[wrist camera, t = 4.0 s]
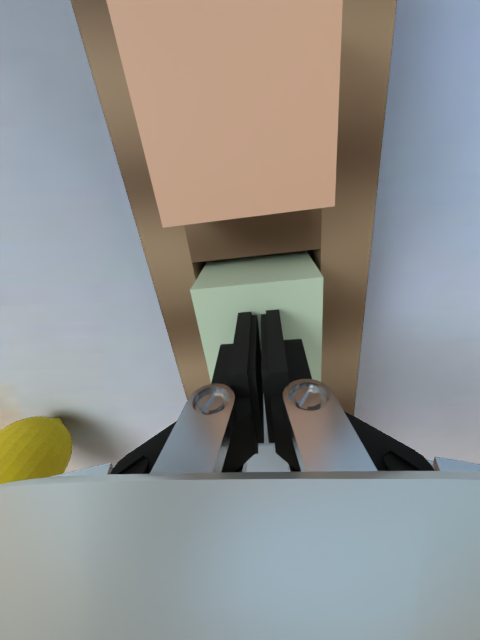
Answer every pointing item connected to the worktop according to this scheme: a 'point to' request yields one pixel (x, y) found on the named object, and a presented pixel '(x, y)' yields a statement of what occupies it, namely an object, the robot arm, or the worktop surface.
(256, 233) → the button board
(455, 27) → the worktop surface
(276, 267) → the button sage
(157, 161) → the button terracotta
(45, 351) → the worktop surface
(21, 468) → the lemon
